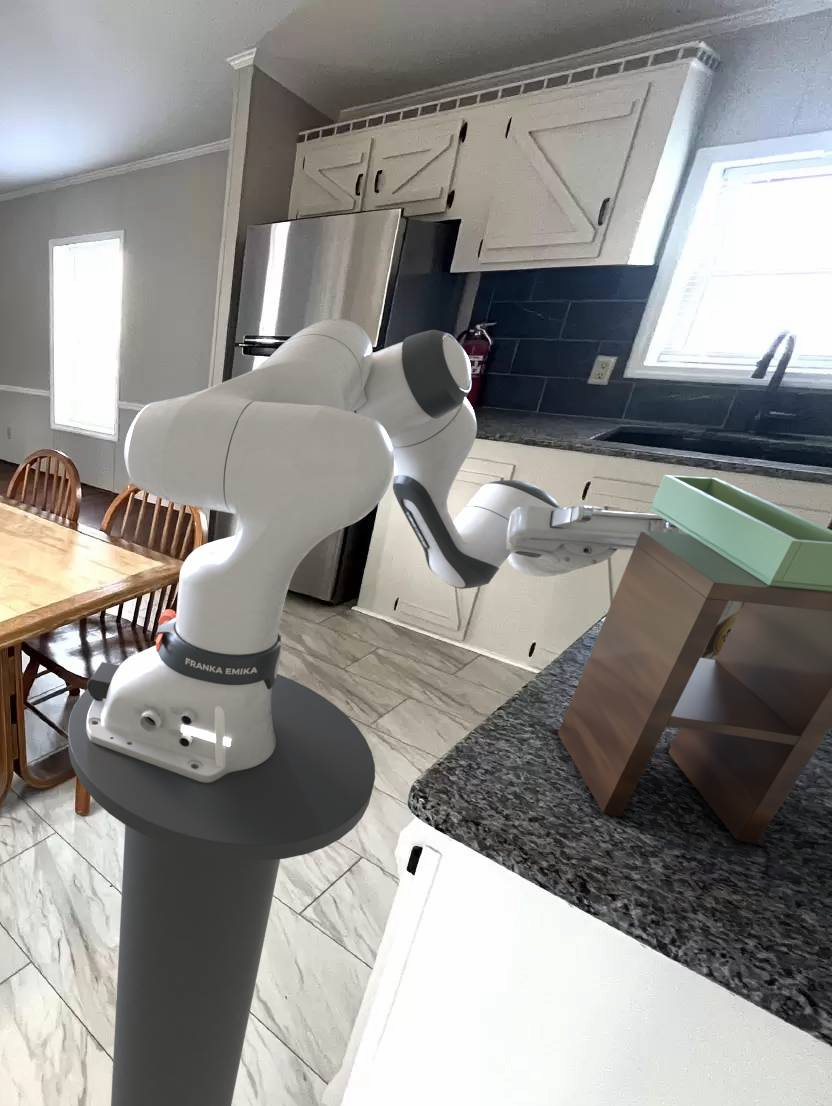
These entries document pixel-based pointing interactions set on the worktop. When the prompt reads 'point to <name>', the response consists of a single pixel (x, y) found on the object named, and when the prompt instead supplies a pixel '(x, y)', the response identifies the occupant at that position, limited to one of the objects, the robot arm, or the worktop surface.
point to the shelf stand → (703, 683)
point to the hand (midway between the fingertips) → (631, 515)
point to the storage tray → (749, 531)
